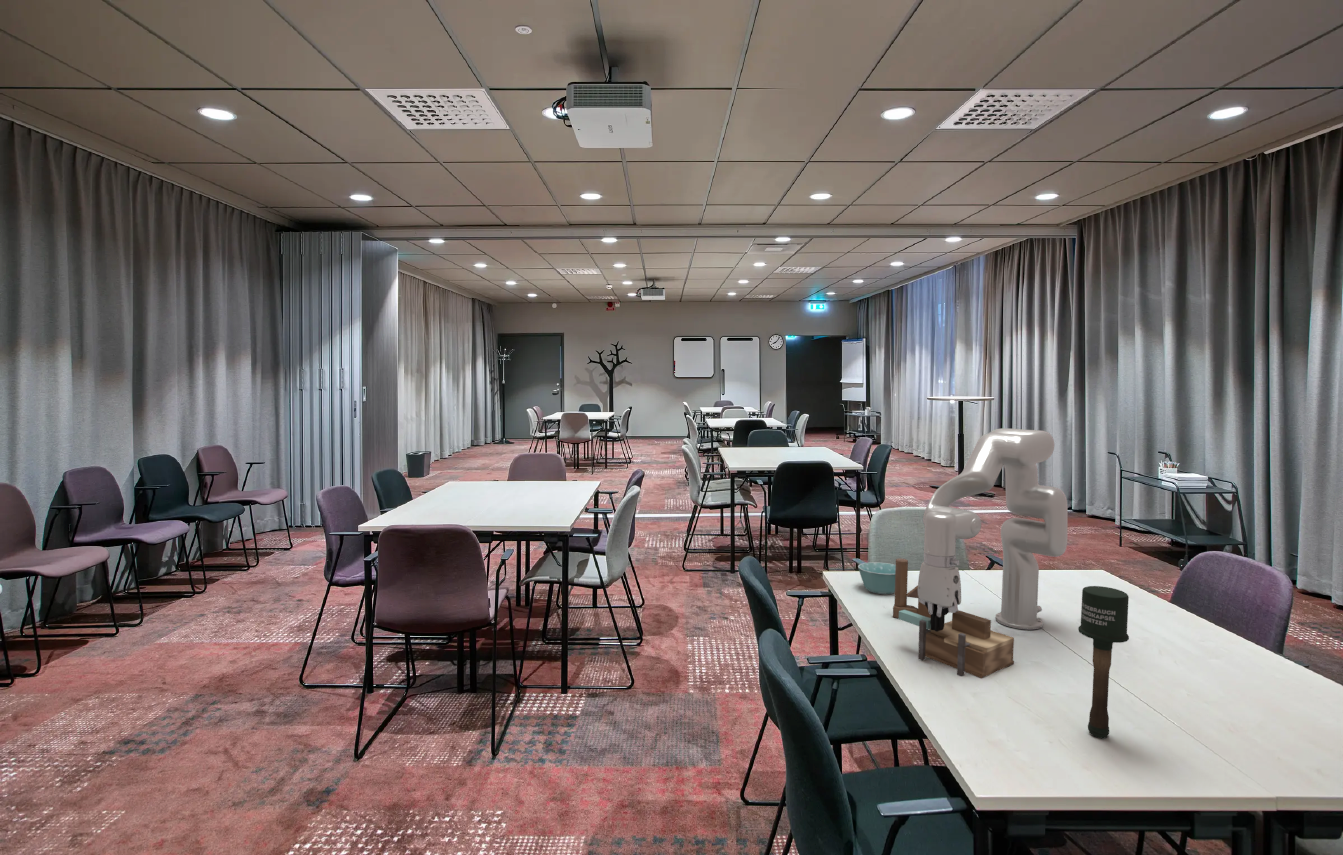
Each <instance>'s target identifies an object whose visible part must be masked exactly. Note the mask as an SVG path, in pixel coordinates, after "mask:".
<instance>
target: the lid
mask: <svg viewBox="0 0 1343 855" xmlns="http://www.w3.org/2000/svg"><path fill="white" fill-rule="evenodd" d="M951 618H952V620H950V621H947V622H944V629H943V630H941V631H938V632H936V631H935V630H931V629H929V630H931V632H930V633H933V634H935V635H936V636H939V637H942V638H944V642H946V643H948V644H951V645H954V646H958V634H960V633H963V634H965V635H966V643H969V644H970V646H967V647H970V648H973V649H976V650H979V651H981V652H982V651H984V652H989V651H992V650H994V649H997V648H999V647H1002V646H1004V645H1007V644H1009V643H1011V642H1014V643H1015V637H1014V636H1013V637H1012V636H1010V635H1006V634H1003V633H1001V632H998V631H994V630H992V629H991V628H992V626H991V625H992V620H991V619H988V618H985V617H982V616H979V615H975V614H974V613H973V614H972V613H970V612H965V611H963V610H959V609H958V612H956V613H952V617H951Z"/></svg>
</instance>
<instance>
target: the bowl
mask: <svg viewBox="0 0 1343 855" xmlns="http://www.w3.org/2000/svg"><path fill="white" fill-rule="evenodd" d="M857 567H858V568H857V569H858V571H859V575H860V578H861V580H862V583H863V586H864V588H865V589H866V590H867V591H869V592H870V593H872V594H875V595H876V594H877V595H882V596H883V595H884V596H885V595H893V594H895V568H896V563H895V564H893V563H889V562H888V563H887V562H878V561H877V562H875V561H873V562H864V563H859V564H858V565H857Z"/></svg>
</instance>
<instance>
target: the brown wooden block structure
mask: <svg viewBox="0 0 1343 855" xmlns="http://www.w3.org/2000/svg"><path fill="white" fill-rule="evenodd" d="M895 565H896V568H895V593H894V604H893V607H892V617H893V618H895V619H899V611H902V610H907V611H910V612H913V613H916V614H919V615H922V616H925V617H928V618H931V614H929V612H928V609H927V607H926V606H925V605H924V604H922V603H920V602H919V597H918V584H917V585H916V586H915V587H913V588H911V590H909V591H908V577H909V576H908V575H909V574H908V573H909V567H908V566H909V560H908V559H905V558H900V557H899V558H895ZM908 598H914V599H917V600H918V601H917V607H916V606H914V605H912V604H911V605H909V604H908Z"/></svg>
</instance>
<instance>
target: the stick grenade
mask: <svg viewBox="0 0 1343 855" xmlns="http://www.w3.org/2000/svg"><path fill="white" fill-rule="evenodd" d="M1081 591H1082V592H1081V608H1080V609H1081V610H1080V625H1079V626H1078V628H1077V629H1078V632H1079V633H1080V634H1081V635H1082V636H1085V637H1087V638H1089V639H1092V666H1093V671H1092V672H1093V674H1092V676H1093V678H1092V695H1091V697H1092V698H1091V707H1090V710H1089V715H1088V716H1089V718H1088V719H1089V720H1088V724H1087V730H1088V733H1089V734H1090V735H1091V736H1093V737H1094V738H1097V739H1106V738H1108V736H1109V735H1110V727H1109V723H1110V722H1109V720H1110V717H1109V712H1108V704H1109V703H1108V702H1109V683H1110V680H1109V679H1110V671H1111V670H1110V669H1111V668H1112V667H1111V666H1112V657H1113V656H1112V655H1113V653H1112V652H1113V644H1115V643H1116V644H1117V643H1120V644H1121V643H1125V642H1128V641H1129V640H1130V636H1129V634H1128V617H1129V598H1130V597H1129V595H1128V593H1127V592H1125V591H1122V590H1120V589H1117V588H1114V587H1113V588H1112V587H1107V586H1101V585H1100V586H1099V585H1087V586H1085V587H1083V588H1082V590H1081Z"/></svg>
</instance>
